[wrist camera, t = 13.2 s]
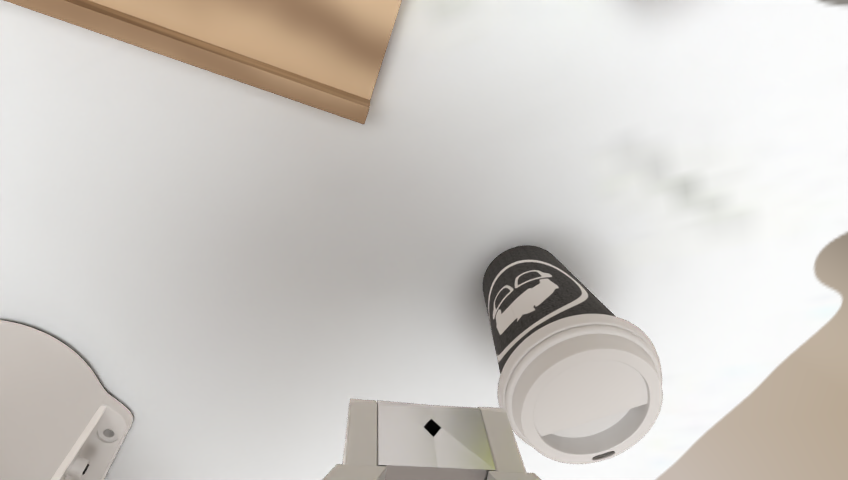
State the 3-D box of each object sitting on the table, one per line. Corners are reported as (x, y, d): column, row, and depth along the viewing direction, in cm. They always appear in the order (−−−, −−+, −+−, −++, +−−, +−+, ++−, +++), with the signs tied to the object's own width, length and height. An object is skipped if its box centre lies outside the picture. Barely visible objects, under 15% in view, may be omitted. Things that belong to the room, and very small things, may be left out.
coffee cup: (458, 332, 44) (495, 476, 30) (470, 224, 40) (518, 333, 27) (569, 333, 45) (654, 474, 31) (591, 229, 41) (698, 336, 28)
